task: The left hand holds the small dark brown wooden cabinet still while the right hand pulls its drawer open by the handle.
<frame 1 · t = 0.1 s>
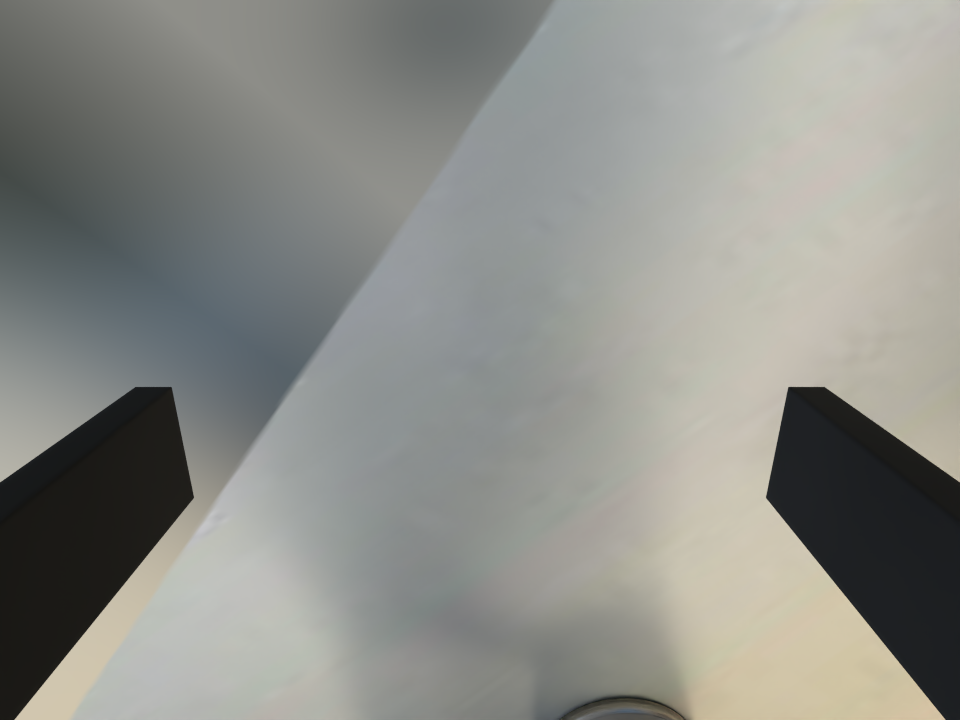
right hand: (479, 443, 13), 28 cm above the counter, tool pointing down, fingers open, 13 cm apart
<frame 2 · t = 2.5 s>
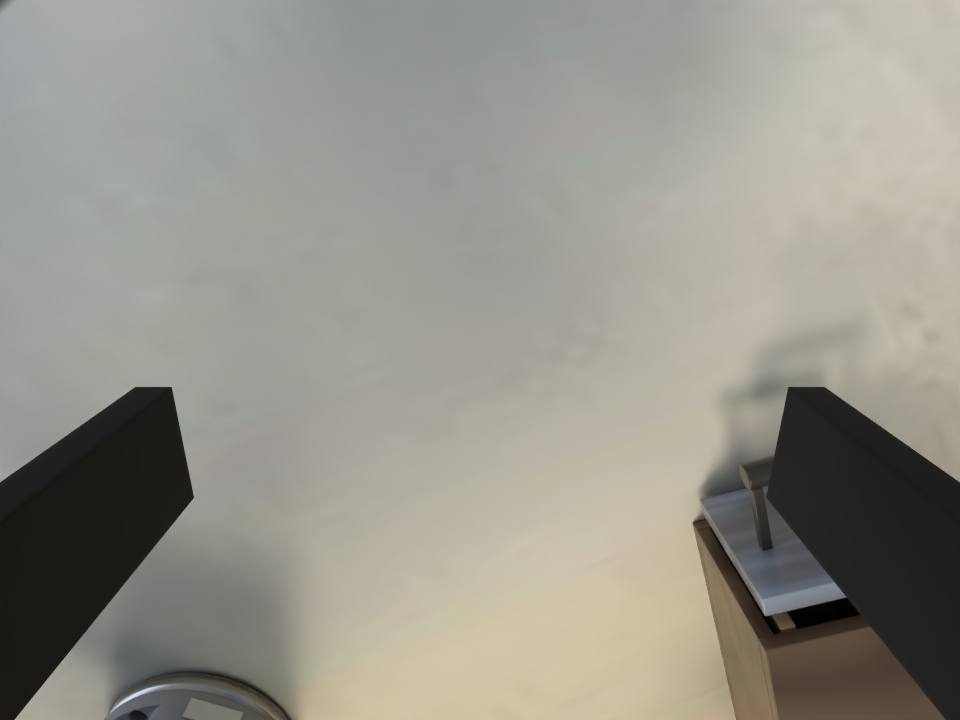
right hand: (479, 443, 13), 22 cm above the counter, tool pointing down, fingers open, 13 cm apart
cabinet: (783, 613, 43), on the counter
drawer: (814, 609, 36), point 5 cm above the counter, slide at 1.2 cm
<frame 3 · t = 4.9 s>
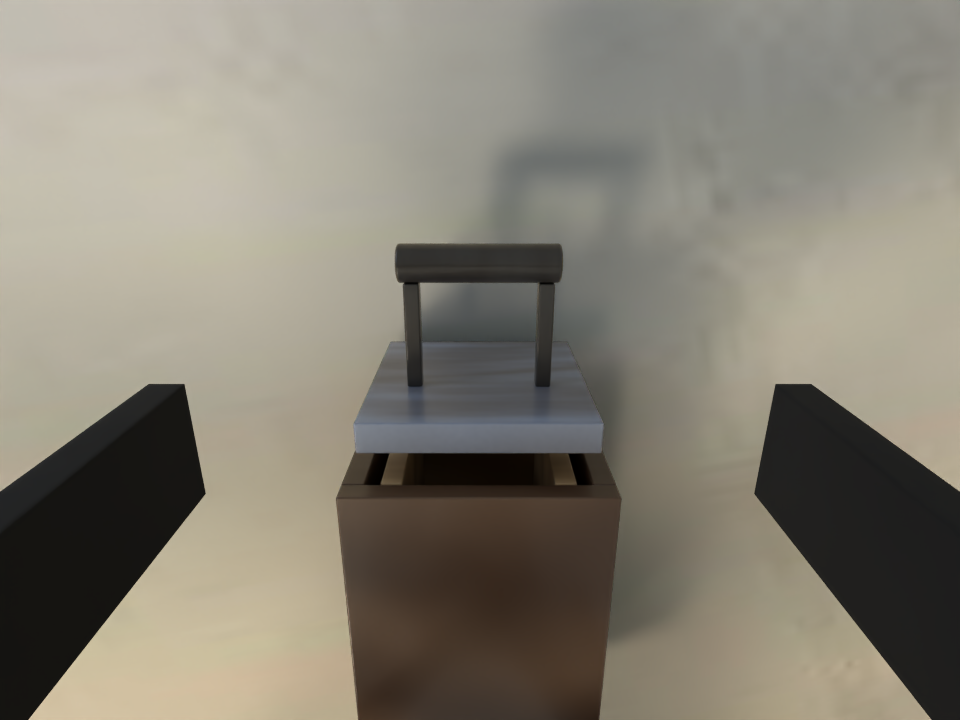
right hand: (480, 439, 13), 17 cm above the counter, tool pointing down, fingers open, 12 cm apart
cabinet: (478, 537, 34), on the counter, touching left hand
drawer: (478, 507, 26), point 5 cm above the counter, slide at 1.2 cm
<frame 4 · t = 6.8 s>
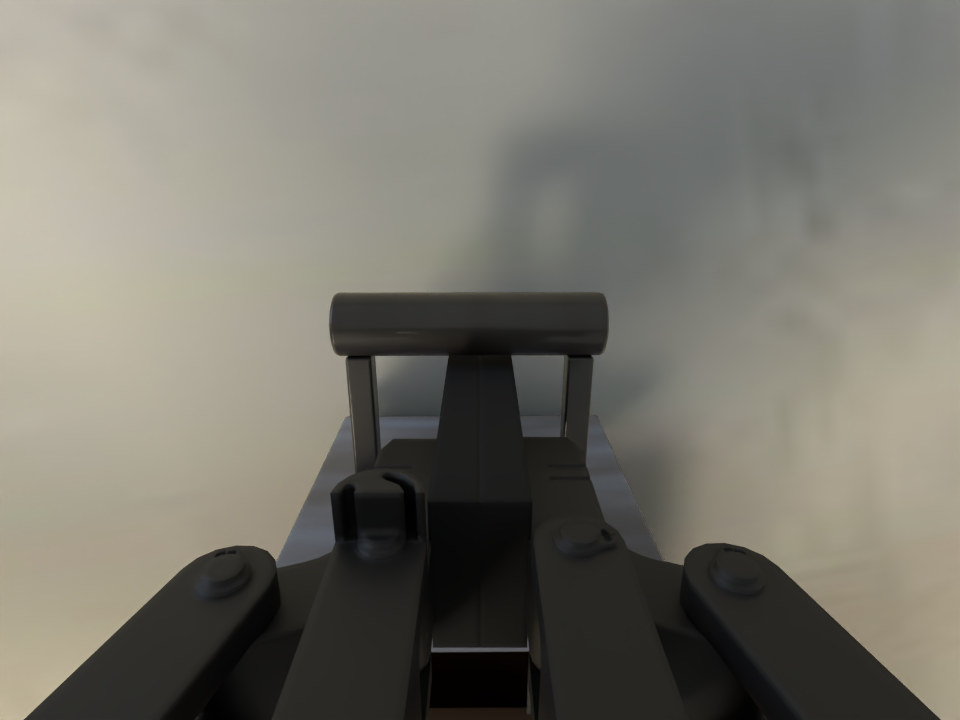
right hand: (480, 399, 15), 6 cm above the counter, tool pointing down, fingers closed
cabinet: (473, 666, 25), on the counter, touching left hand
drawer: (472, 666, 18), point 5 cm above the counter, slide at 1.4 cm
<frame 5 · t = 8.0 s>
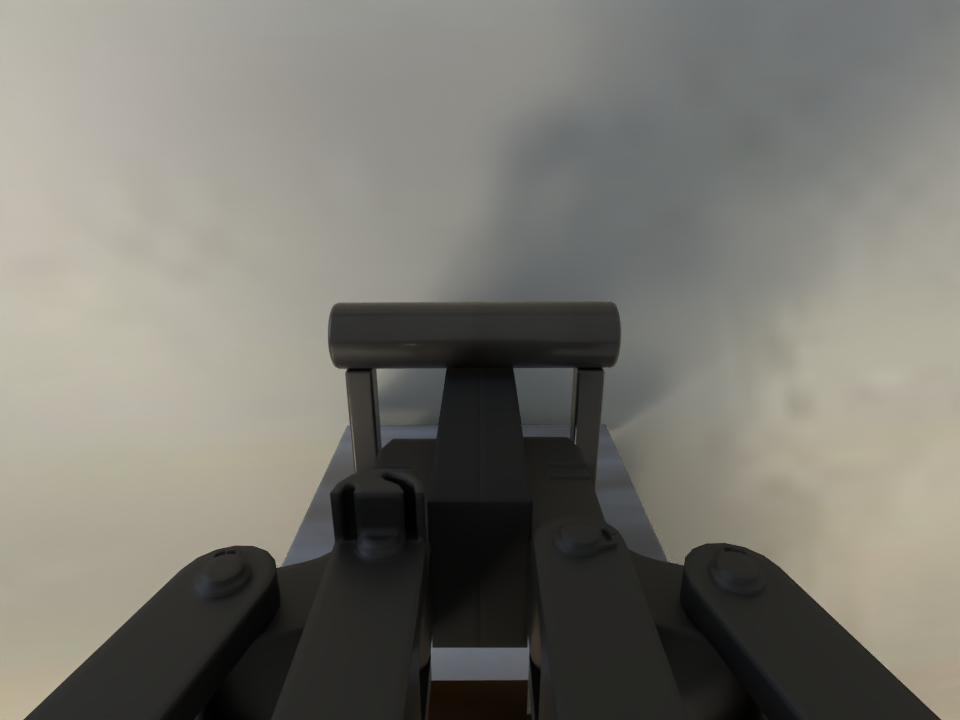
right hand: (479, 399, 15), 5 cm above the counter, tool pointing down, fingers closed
drawer: (477, 684, 18), point 5 cm above the counter, slide at 7.5 cm, touching right hand
when the left hand's fingers open (6 cm above the counter, at t = 10.1 s): cabinet stays where it is, on the counter.
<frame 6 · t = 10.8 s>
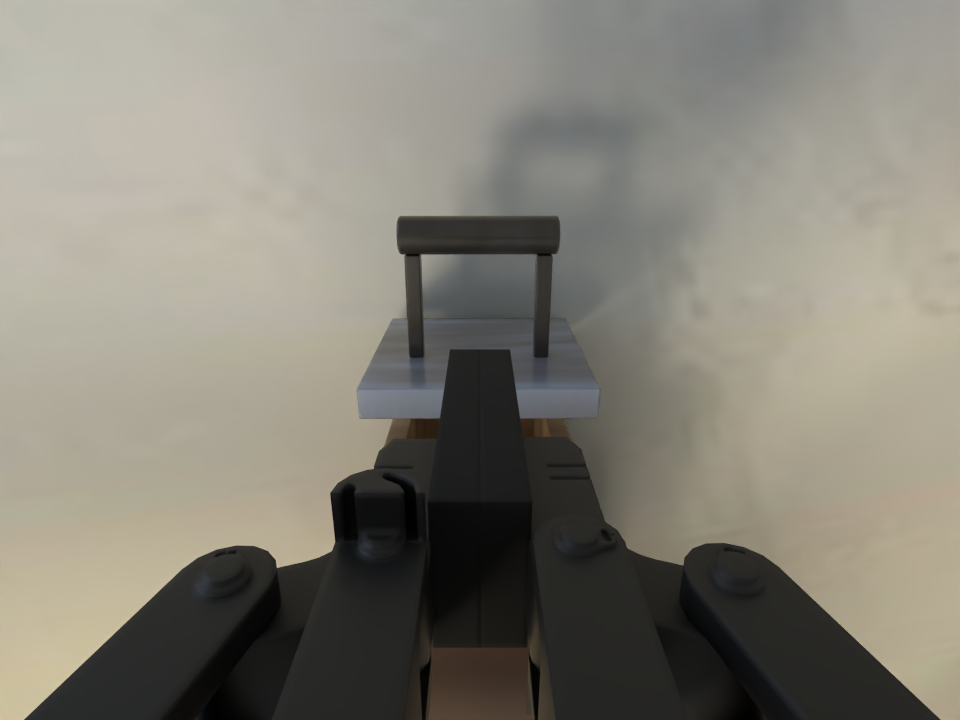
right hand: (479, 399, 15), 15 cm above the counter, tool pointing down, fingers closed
cabinet: (479, 599, 36), on the counter
drawer: (479, 479, 27), point 5 cm above the counter, slide at 7.6 cm
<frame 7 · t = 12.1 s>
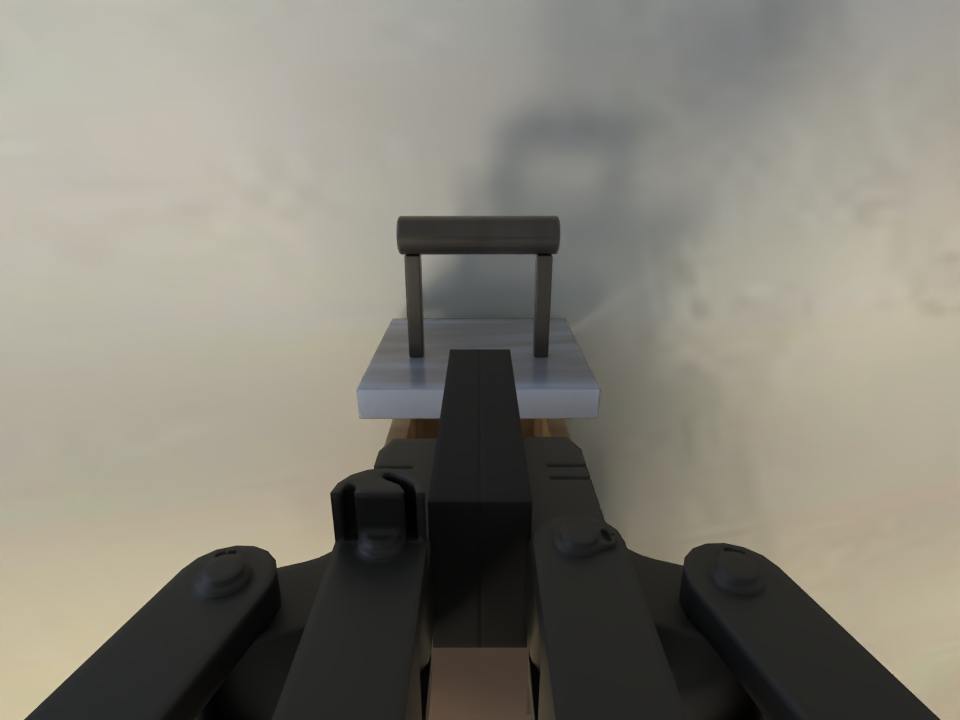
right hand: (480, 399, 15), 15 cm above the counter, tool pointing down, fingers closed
cabinet: (479, 599, 36), on the counter
drawer: (479, 479, 27), point 5 cm above the counter, slide at 7.6 cm
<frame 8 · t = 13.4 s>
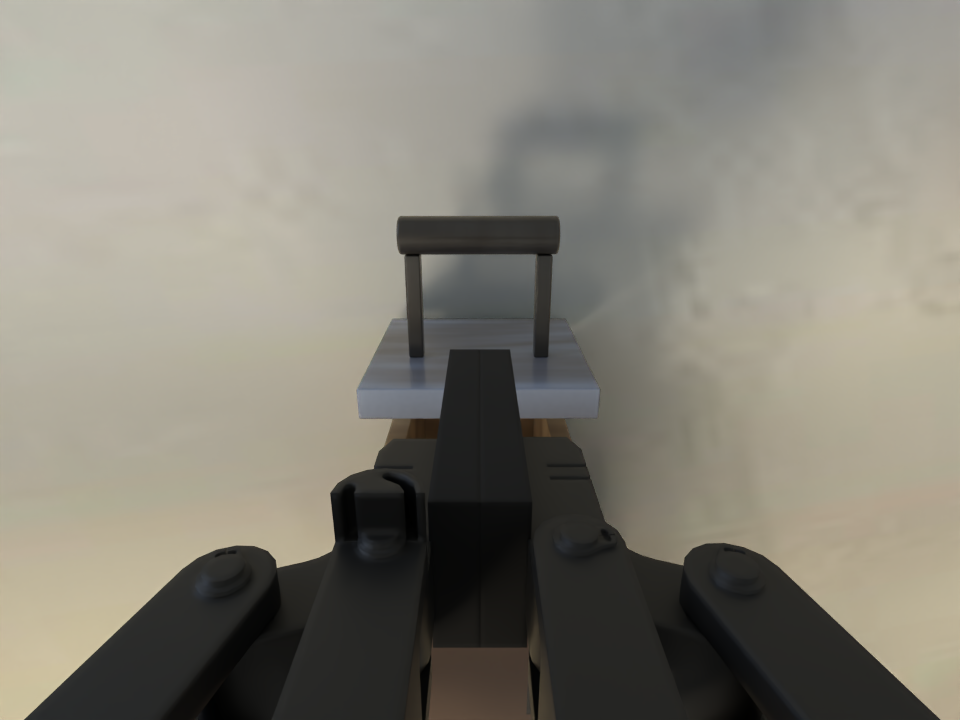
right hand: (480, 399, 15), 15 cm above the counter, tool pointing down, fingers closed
cabinet: (479, 599, 36), on the counter
drawer: (479, 479, 27), point 5 cm above the counter, slide at 7.6 cm
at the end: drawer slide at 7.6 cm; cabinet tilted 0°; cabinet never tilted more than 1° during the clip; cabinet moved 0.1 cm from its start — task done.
